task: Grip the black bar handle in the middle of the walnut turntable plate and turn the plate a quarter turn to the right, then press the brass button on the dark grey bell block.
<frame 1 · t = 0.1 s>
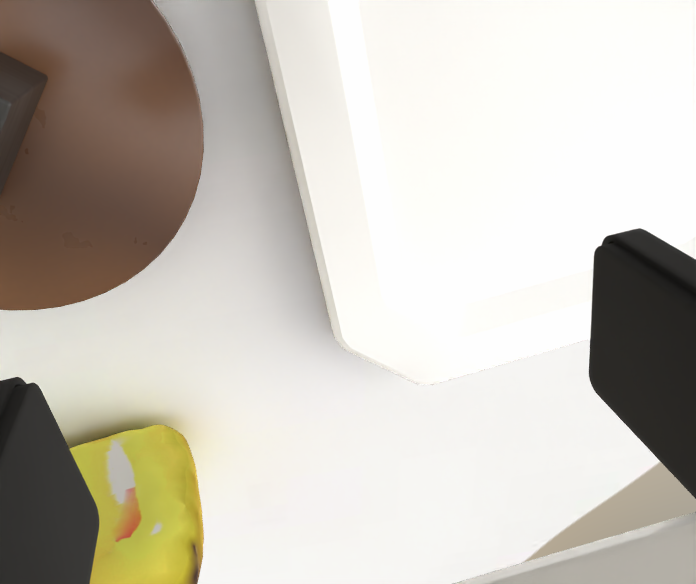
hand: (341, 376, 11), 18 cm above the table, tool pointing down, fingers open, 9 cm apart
plate: (559, 85, 28), on the table
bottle: (94, 469, 32), on the table
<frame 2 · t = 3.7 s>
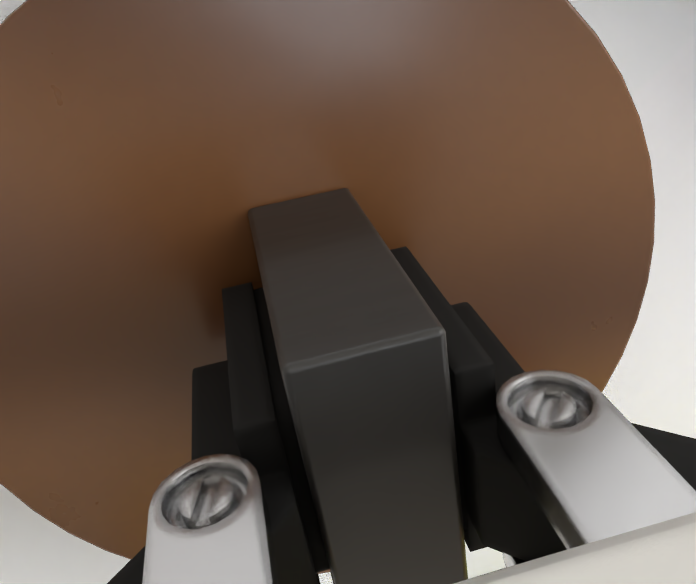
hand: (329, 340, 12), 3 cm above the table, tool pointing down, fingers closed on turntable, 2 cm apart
turntable: (345, 386, 10), point 4 cm above the table, hinge at 0.0°, touching gripper
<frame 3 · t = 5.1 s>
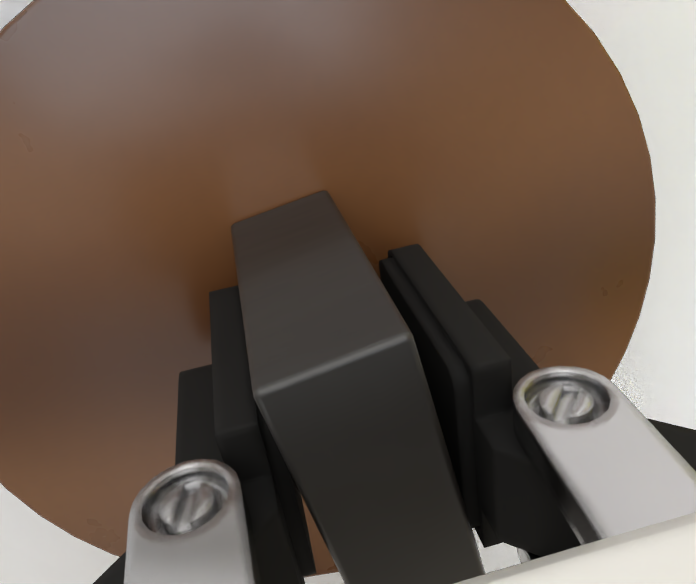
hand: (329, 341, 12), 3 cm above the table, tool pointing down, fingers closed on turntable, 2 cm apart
turntable: (347, 388, 10), point 4 cm above the table, hinge at -67.8°, touching gripper
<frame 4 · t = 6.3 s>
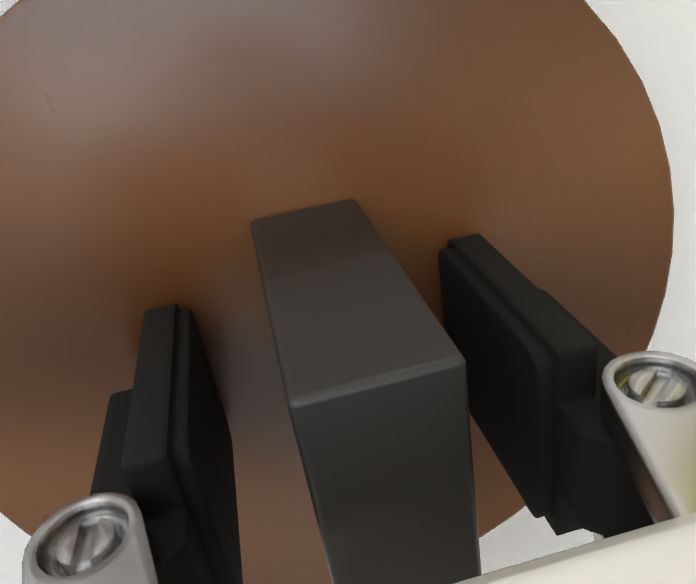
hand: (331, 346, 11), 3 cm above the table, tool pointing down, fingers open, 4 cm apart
turntable: (353, 408, 10), point 4 cm above the table, hinge at -94.8°
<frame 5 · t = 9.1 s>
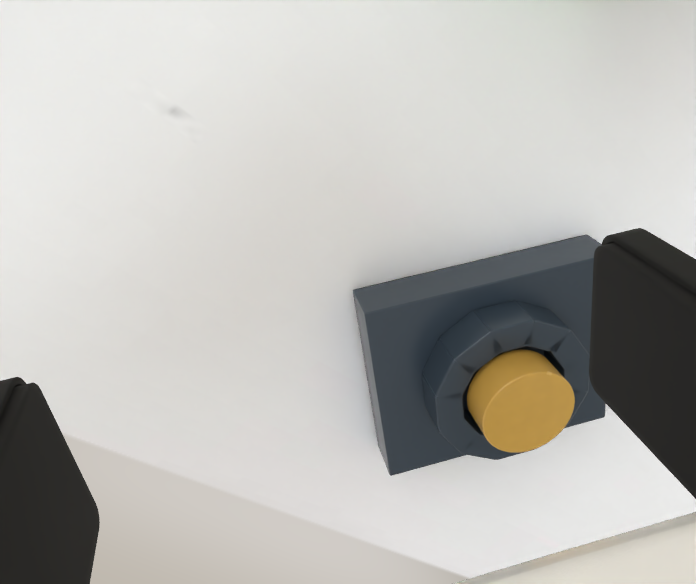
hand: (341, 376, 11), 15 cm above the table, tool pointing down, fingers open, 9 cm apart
bell button: (519, 401, 26), point 4 cm above the table, slide at 0.1 cm
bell: (477, 345, 30), on the table
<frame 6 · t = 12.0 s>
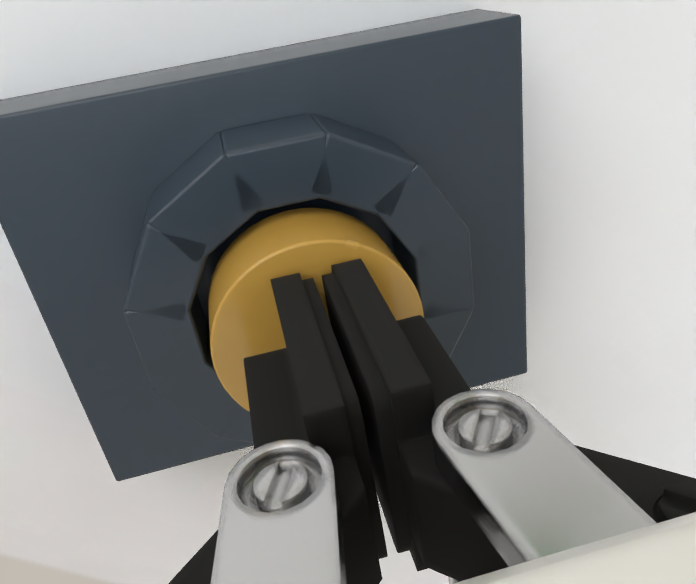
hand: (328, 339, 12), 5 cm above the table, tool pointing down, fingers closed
bell button: (313, 318, 12), point 4 cm above the table, slide at -0.1 cm, touching gripper
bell: (285, 237, 16), on the table
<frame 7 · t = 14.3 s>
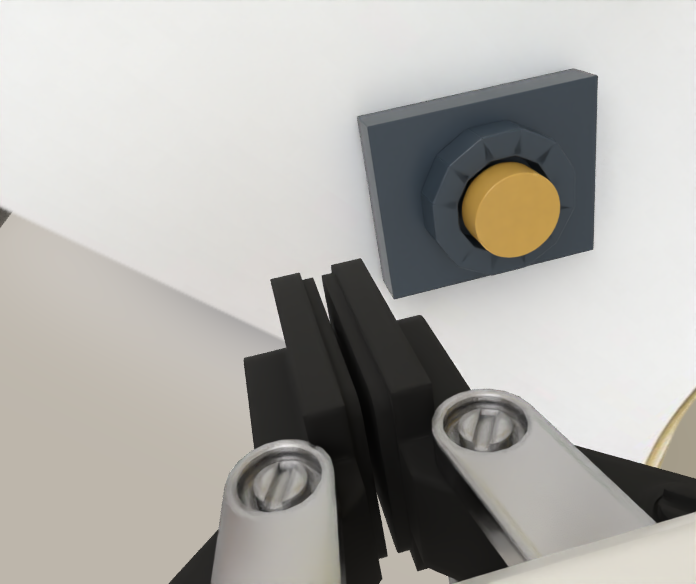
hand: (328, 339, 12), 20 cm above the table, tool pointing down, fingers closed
bell button: (510, 209, 29), point 4 cm above the table, slide at 0.1 cm
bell: (473, 180, 33), on the table
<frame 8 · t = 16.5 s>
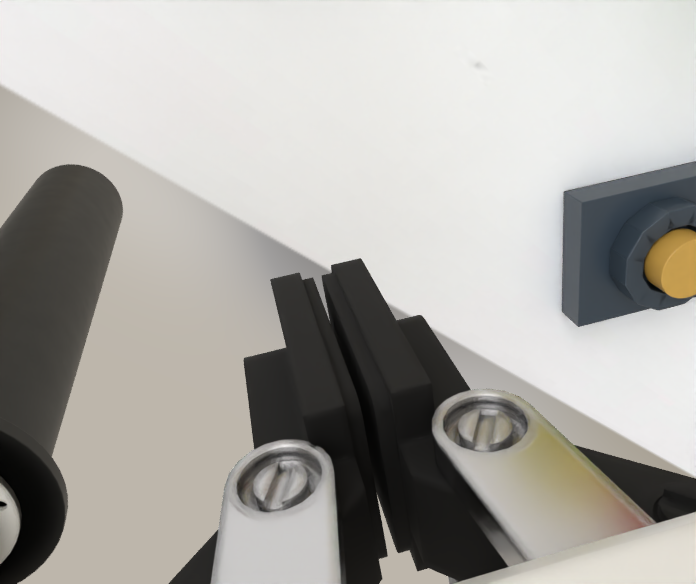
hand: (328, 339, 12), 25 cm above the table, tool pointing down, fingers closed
bell button: (681, 263, 39), point 4 cm above the table, slide at 0.1 cm
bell: (637, 236, 43), on the table
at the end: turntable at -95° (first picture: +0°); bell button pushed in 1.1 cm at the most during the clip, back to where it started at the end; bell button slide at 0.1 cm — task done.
